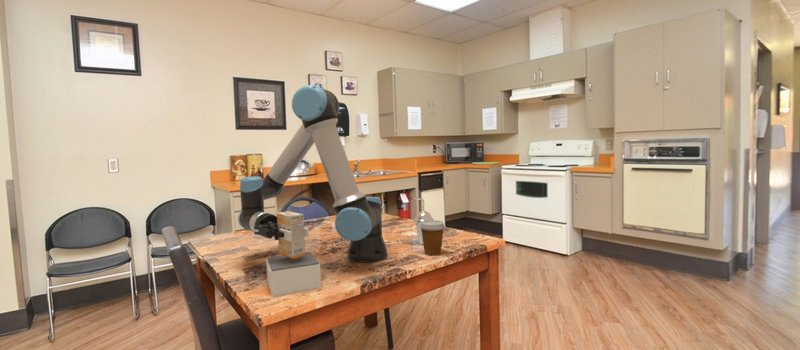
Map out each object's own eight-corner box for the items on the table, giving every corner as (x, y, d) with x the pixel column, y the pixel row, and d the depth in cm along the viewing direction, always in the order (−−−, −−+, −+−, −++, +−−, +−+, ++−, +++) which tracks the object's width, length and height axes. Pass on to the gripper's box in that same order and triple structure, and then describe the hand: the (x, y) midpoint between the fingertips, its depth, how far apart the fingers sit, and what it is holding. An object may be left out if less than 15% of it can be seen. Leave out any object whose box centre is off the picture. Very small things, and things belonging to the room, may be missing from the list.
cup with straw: (434, 245, 160) (434, 197, 159) (413, 246, 160) (412, 198, 159) (433, 240, 169) (432, 195, 167) (412, 240, 169) (411, 195, 167)
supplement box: (278, 254, 120) (275, 212, 119) (291, 251, 124) (289, 210, 123) (291, 259, 115) (289, 215, 113) (306, 255, 118) (304, 213, 117)
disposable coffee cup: (438, 258, 143) (437, 226, 142) (415, 254, 148) (415, 223, 147) (449, 251, 151) (448, 221, 150) (427, 248, 156) (427, 219, 155)
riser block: (311, 274, 129) (310, 251, 128) (320, 288, 116) (319, 262, 116) (267, 281, 123) (266, 257, 123) (272, 297, 111) (270, 270, 110)
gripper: (289, 230, 138) (325, 241, 121) (239, 239, 126) (271, 253, 109) (288, 209, 137) (324, 217, 121) (237, 217, 125) (269, 227, 108)
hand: (299, 234), depth 115 cm, fingers closed on supplement box, 5 cm apart
